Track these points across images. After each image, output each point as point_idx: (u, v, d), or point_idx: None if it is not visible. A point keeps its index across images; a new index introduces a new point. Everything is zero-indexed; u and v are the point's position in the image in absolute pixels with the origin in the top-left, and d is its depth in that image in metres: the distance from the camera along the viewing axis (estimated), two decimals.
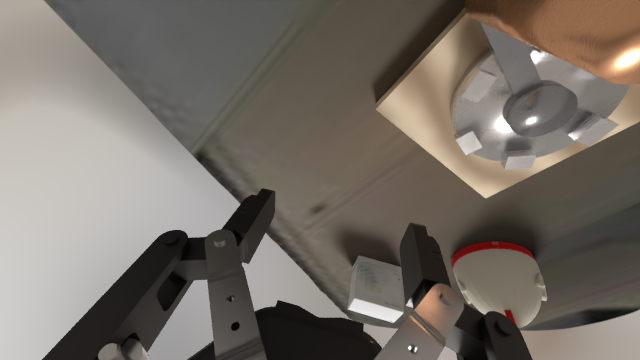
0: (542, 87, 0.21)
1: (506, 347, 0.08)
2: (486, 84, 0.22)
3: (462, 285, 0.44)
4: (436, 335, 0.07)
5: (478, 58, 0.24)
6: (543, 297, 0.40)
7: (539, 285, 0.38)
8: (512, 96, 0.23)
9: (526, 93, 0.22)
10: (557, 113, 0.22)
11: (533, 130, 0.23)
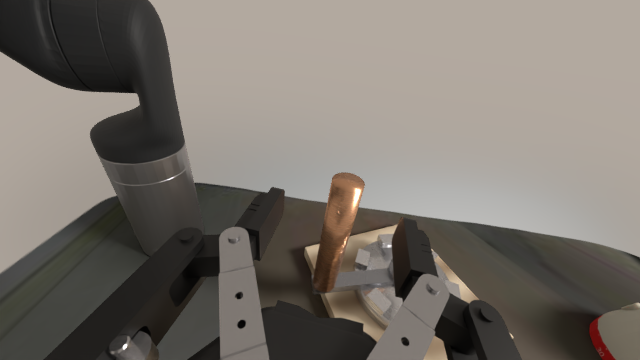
0: (389, 267, 0.33)
1: (488, 333, 0.08)
2: (378, 294, 0.30)
3: None
4: (426, 325, 0.08)
5: (360, 302, 0.32)
6: None
7: (636, 305, 0.33)
8: (393, 285, 0.32)
9: (391, 275, 0.32)
10: None
11: None
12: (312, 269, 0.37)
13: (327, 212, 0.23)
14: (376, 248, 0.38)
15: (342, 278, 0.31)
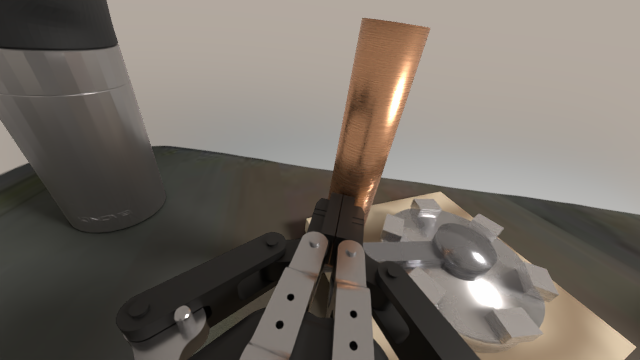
0: (436, 239, 0.22)
1: (388, 286, 0.09)
2: (422, 276, 0.19)
3: None
4: (361, 288, 0.08)
5: None
6: None
7: None
8: (443, 266, 0.21)
9: (440, 250, 0.21)
10: (466, 234, 0.22)
11: (487, 252, 0.21)
12: None
13: (349, 102, 0.12)
14: (411, 217, 0.26)
15: None
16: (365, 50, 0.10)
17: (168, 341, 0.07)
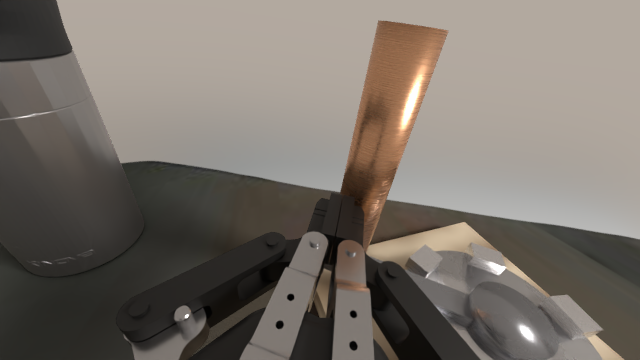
0: (471, 293, 0.17)
1: (388, 286, 0.09)
2: None
3: None
4: (361, 288, 0.08)
5: None
6: None
7: None
8: (468, 327, 0.17)
9: (470, 307, 0.17)
10: (520, 306, 0.17)
11: (542, 340, 0.15)
12: (317, 302, 0.20)
13: None
14: (459, 261, 0.22)
15: None
16: (373, 50, 0.11)
17: (168, 341, 0.07)
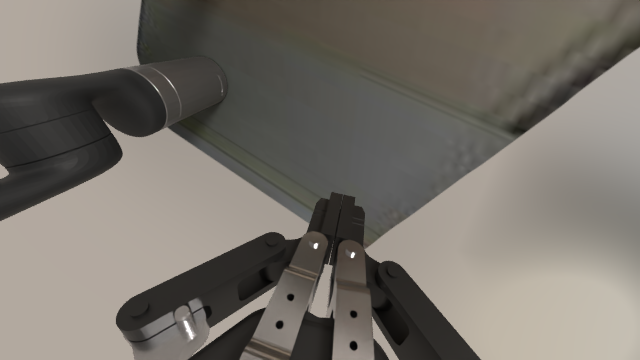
0: None
1: (389, 286, 0.09)
2: None
3: None
4: (361, 288, 0.08)
5: None
6: None
7: None
8: None
9: None
10: None
11: None
12: None
13: None
14: None
15: None
16: None
17: (168, 341, 0.07)
